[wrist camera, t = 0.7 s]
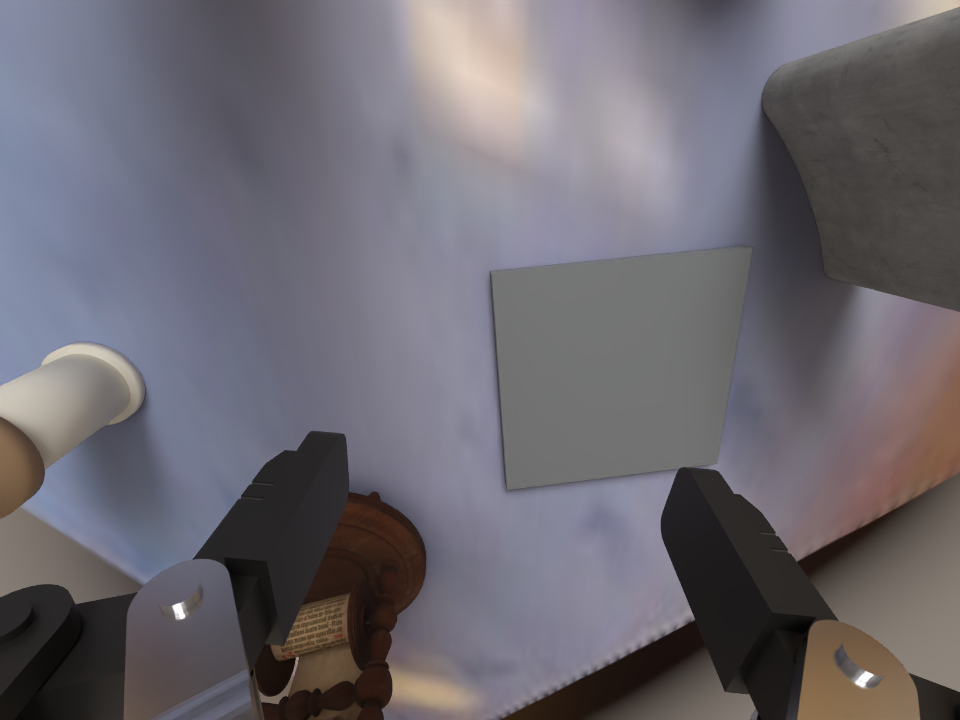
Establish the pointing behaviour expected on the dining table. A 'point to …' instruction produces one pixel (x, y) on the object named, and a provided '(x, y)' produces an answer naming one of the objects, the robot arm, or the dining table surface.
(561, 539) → the dining table surface
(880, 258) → the hip flask
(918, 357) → the dining table surface
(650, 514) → the dining table surface
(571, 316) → the mat
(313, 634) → the scroll
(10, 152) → the dining table surface
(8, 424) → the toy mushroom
